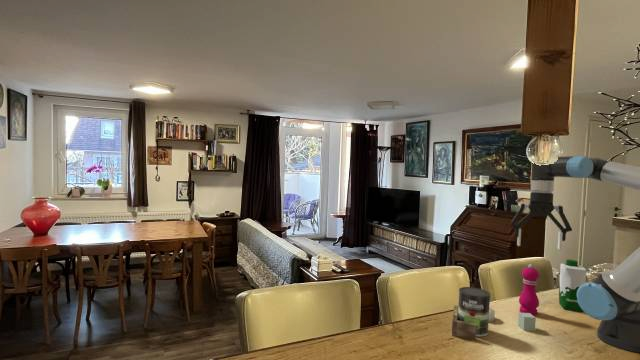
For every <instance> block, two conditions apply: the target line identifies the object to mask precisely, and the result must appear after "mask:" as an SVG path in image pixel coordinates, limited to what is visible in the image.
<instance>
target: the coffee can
mask: <svg viewBox="0 0 640 360" xmlns="http://www.w3.org/2000/svg"><path fill="white" fill-rule="evenodd" d="M458 293H459V294H458V295H459V296H458V306H459V308H458V321H464V322H469V323H475V324H476V337H477V338H478V337H486V336H487V335H489V334H488V333H489V322H488V320H489V308H490V302H491V301H490V300H491V299H490V298H491V293H490V292H489V291H487V290H485V289H484V288H479V287H472V286H463V287H459V289H458Z"/></svg>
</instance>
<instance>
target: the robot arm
mask: <svg viewBox="0 0 640 360" xmlns="http://www.w3.org/2000/svg"><path fill="white" fill-rule="evenodd" d="M557 157H558V160H557V161H556V162H554V164H549V165H541V166H539V165H536V164H535V163H534V164H533V163H532V162H531V179H530V191H531V192H530V195H529V204H526V203H520V205H519V209H518V211H517V212H516V214H515V215H514V216H513V218H512V219H511V221H510V223H509V225H510V227H512V228H514V236H515V238H517V239H516V240H517V241H516V242H517V243H516V245H517V247H521V241H522V240H521V239H522V228H521V227H522V226H523V225H524V224H525V223H526V222H528V220H529V219H531V218H532V217H533V216H535V217H543V218H546V217H548V218H549V219H550V220H551V221H552V222H553V224H555V226H556V227H557V228H558V229H559V230H560V231H558V237H557V249H558V250H559V251H562V249H563V248H562V247H563V242H565V241H566V239H567V237H566V235H567V232H572V231H573V228H572V226H571V225H570V223H569V221H568V219H567V217H566V215H565V212H564V207H563V206H562V205H554V190H555V188H554V187H555V178H575V179H591V180H594V181H600V182H603V183H609V184H612V185H616V186H620V187H624V188H628V189H632V190H635V191H640V166H635V165H631V164H625V163H621V162H620V163H619V162H616V161H609V160H605V159H603V158H599V157H588V156H583V155H568V156H565V155H564V156H557ZM527 208H528V210H529V212H528V213H527V214H526V215H525V216H524V217H523V218H521V219H520V220H519V218H520V217H521V216H522V214H523V212H524V211H525V210H527ZM554 210H555V211H556V212H557V213H558V215H559V217H560V219H561V221H562V223H563V225H564V226H563V225H562V224H561V222H559V220H558V219H557V218H556V217H555V216H554V215H553V213H552V212H553V211H554ZM577 299H578V300H577V301H578V304H579V306H580V307H581V309H582V310H583V312H584V313H585V314H586V315H587V316H588V317H590V318H592V319H594V320H598V321H600V323H599V325H598V327H597V329H596V336H597V338H598V339H599V340H601V341H602V342H603V343H606V344H608V345H610V346H612V347H615V348H618V349H622V350H625V351H630V352H635V353H640V246H639V247H638V248H637V249H635V250H634V252H632V253H631V254H630V255H629V256H627V258H625V259H624V260H623V261H622V262H621V263H620V264H619V265H618V266H617V267H615V268H614V269H613V270H604V271H602V272H601V273H600V274H599V275H598V276H597V277H595V278H594V279H593V280H592V281H591V282H586V283H585V284H583V285H581V286H580V287H579V288H578V290H577Z"/></svg>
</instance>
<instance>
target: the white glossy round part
mask: <svg viewBox="0 0 640 360" xmlns="http://www.w3.org/2000/svg"><path fill="white" fill-rule="evenodd" d="M492 322H495V310H494V309H493V308H490V307H489V320H488V323H492Z"/></svg>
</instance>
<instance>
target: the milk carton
mask: <svg viewBox="0 0 640 360" xmlns="http://www.w3.org/2000/svg"><path fill="white" fill-rule="evenodd" d="M565 261H566V262H565V263H560V267H559V268H560V270H559V283H558V284H559V285H558V287H559V288H558V300H559V301H558V304H559V305H560V307H561V308H562V309H563V310H565V311H566V310H567V311H571V312H572V311H573V312H574V311H575V312H580V313H581V312H582V313H583V312H584V311H583V310H582V309H581V307H580V306H579V304H578V301H577V300H578V299H577V290H578V288H579V287H580V286H581V285H583V284H585V283H587V282H586V281H587V280H586V279H587V269H586V268H585V267H584V266H582V265H579V264H578V263H579V262H578V261H577V260H574V259H566V260H565Z"/></svg>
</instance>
